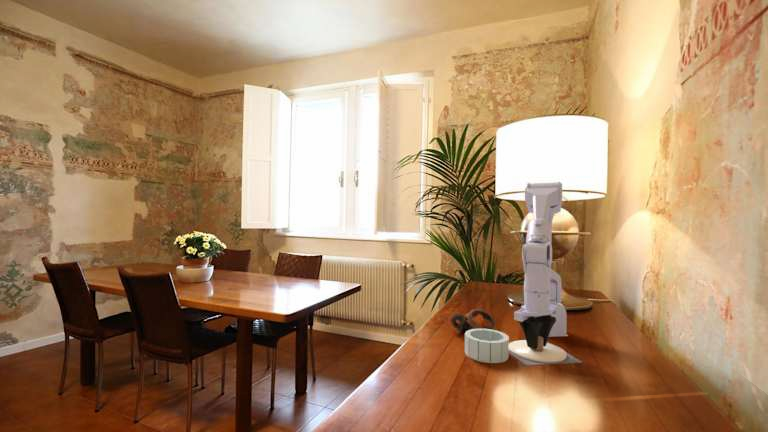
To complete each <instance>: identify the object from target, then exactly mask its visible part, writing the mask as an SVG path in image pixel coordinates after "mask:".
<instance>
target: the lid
mask: <svg viewBox="0 0 768 432" xmlns="http://www.w3.org/2000/svg"><path fill="white" fill-rule="evenodd" d="M543 341H544V338H543V337H542V336H538V346H537V349H532V348H530V347H528V346H527V342H526V339H521V340H520V339H519V340H514V341H510V342H511V343H510V344H509V351H510V352H511V353H513V354H514V355H516V356H518V357H521V358H524V359H527V360H531V361H536V362H543V363H557V362H562V361H564V360H566V358H567V353H568V352H566V351H565V350H564V349H563V348H562V347H559V346H557V345H555V344H553V343H551V344H549V343H550V342H549V343H547V344H546V346H545V347H544V346H543ZM552 344H553V345H552Z"/></svg>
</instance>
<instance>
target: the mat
mask: <svg viewBox="0 0 768 432" xmlns="http://www.w3.org/2000/svg"><path fill="white" fill-rule="evenodd" d="M511 342H512V341H509V344H510V343H511ZM547 343H549V344H552V345H554V344H553V343H550V342H549V341H547ZM566 353H567V358H566V360H564V361H562V362H557V363H543V362H536V361H531V360H527V359H524V358H521V357H518V356H516V355H514V354H513V353H511V352H510V351H509V354H510V355H512V356H513V357H514V358H516V360H518V361H519V362H521V363H522V364H523V365H524V366H540V365H541V366H543V365H565V364H583V363H584V362H583V361H581V360H580V359H578V358H576V357H575V356H573V355H571V354H570V353H568V352H566Z"/></svg>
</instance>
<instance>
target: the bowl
mask: <svg viewBox="0 0 768 432" xmlns="http://www.w3.org/2000/svg"><path fill="white" fill-rule="evenodd" d="M509 342H510V336H509V335H508V334H506V333H505V332H503V331H499V330H496V329H494V330H491V329H483V328H481V329H468V330H467V329H466V331H465V333H464V354H465V355H466V356H467V357H468V358H469V359H471V360H473V361H474V360H475V361H476V362H480V363H487V364H500V363H505V362H507V361H508V359H509V356H510V355H509V354H510V353H509Z"/></svg>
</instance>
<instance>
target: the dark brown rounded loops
mask: <svg viewBox="0 0 768 432" xmlns="http://www.w3.org/2000/svg"><path fill="white" fill-rule="evenodd" d="M479 315H481V316H482V319H484V320H488V321H489V322H490V325H483V329H491V330H495V320H494V318H493V316H492V315H491V314H489V313H488V312H486V311H484V310H483V309H476V308H475V309H472V310H470V311H469V312H467V313H466V314H464V315H463V314H460V313H455V314H453V315H452V316H451V317H450V323H451V325H452V326H453V328H455V329H456V330H458V332H459V333H460V334H461V333H462V332H463V331H464V330H467V329H468V330H471V329H482V328H480V326H481V324H480V322H478V321H476V319H475V318H476V317H478V316H479ZM457 321H459V323H458V322H457Z"/></svg>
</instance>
